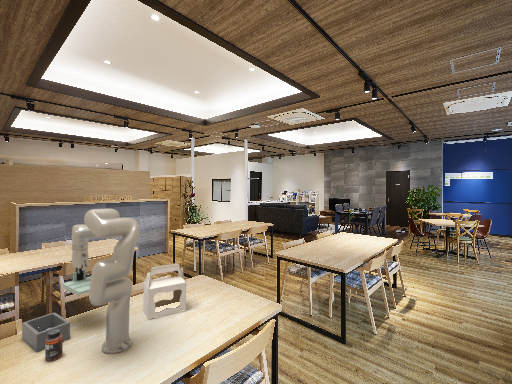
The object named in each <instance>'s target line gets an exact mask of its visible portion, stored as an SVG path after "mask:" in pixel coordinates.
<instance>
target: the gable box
mask: <svg viewBox="0 0 512 384" xmlns="http://www.w3.org/2000/svg"><path fill="white" fill-rule="evenodd" d="M171 272H177V276H172V277H166V278H161V279H154V280H152V276H153V275H154V276H155V275H157V274H158V275H159V274H165V273H171ZM145 276H146V277H145V279H144V282H143V301H142V302H143V304H142V307H143V309H142V310H143V313H144V315H145V316H146V318H147V320H148V321H150V320H153V319H152V318H154V319H157V318H156V317H158V318H161V317H160V316H162V317H166V316H169V315H168V314H170V315H173V314H172V313H174V314H177V313H176V312H178V313H180V312H179V311H182V310H187V281H186V278H185V276H184V267H180V264H179V263H178V262H175V263H167V264H162V265H153V266H152V267H151V268H150V271H149V272H146V275H145ZM170 292H172V296H173V297H172V299H161V300H158V301H157V302H156V301H155V299H154V297H155V296H156V295H157V294H160V293H170ZM175 302H180V305H179V306H178V307H176V308H166V309H164V310H162V311H160V312H155V308H156V307H160V306H164V305H168V304H171V303H175ZM182 312H183V311H182ZM165 315H166V316H165ZM149 319H150V320H149Z"/></svg>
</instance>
